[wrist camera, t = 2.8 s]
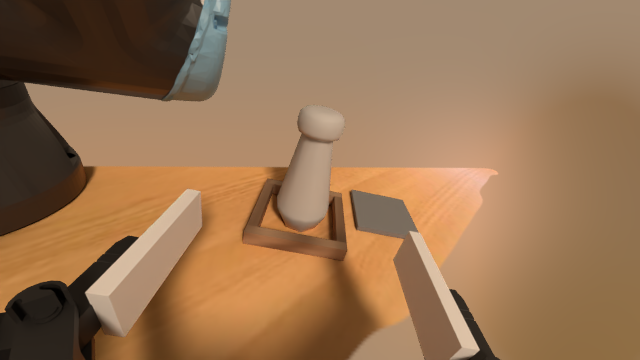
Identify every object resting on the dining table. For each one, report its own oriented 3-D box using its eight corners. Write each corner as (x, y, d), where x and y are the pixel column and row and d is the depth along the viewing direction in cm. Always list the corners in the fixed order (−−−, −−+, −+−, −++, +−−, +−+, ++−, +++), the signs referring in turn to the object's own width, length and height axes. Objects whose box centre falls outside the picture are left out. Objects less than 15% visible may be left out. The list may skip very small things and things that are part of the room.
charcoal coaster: (356, 229, 28) (358, 226, 27) (350, 192, 34) (351, 189, 34) (419, 241, 28) (421, 238, 28) (401, 203, 35) (402, 200, 35)
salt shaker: (274, 202, 29) (290, 95, 22) (318, 205, 30) (345, 105, 24) (274, 236, 24) (295, 113, 17) (327, 238, 25) (364, 125, 19)
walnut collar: (242, 243, 22) (243, 231, 21) (266, 187, 31) (267, 178, 30) (343, 260, 23) (347, 250, 22) (338, 202, 32) (341, 193, 31)
